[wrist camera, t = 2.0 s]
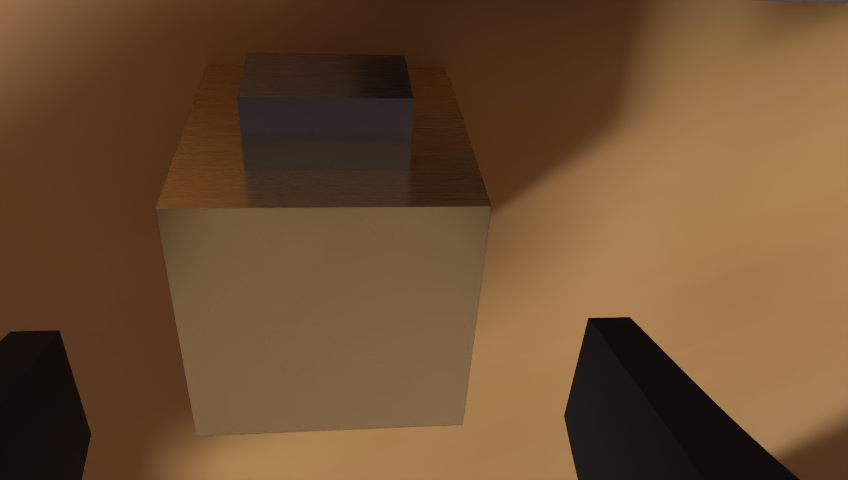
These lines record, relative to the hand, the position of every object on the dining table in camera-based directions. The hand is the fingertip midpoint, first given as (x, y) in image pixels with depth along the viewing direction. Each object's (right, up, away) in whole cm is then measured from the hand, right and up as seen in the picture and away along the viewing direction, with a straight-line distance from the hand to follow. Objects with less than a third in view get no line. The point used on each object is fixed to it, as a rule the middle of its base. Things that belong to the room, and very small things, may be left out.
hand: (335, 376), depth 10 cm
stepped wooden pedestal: (-1, +3, +5) cm, 6 cm away
